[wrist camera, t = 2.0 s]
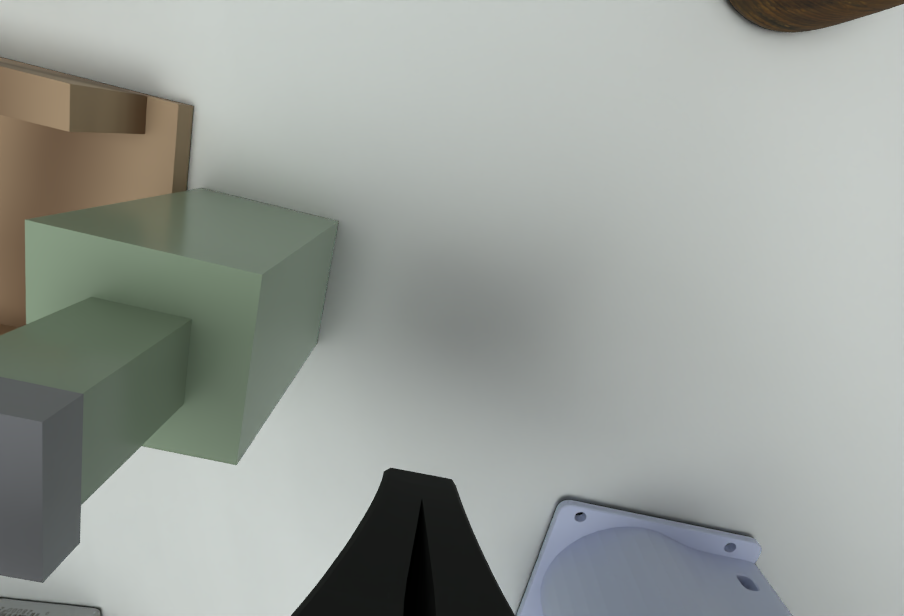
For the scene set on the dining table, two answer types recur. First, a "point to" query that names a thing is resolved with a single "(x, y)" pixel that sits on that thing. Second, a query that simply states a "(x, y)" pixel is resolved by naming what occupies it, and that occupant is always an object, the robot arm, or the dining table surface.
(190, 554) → the dining table surface
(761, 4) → the utensil holder
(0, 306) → the cradle
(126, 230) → the bottle
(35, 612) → the coffee box
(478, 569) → the robot arm
